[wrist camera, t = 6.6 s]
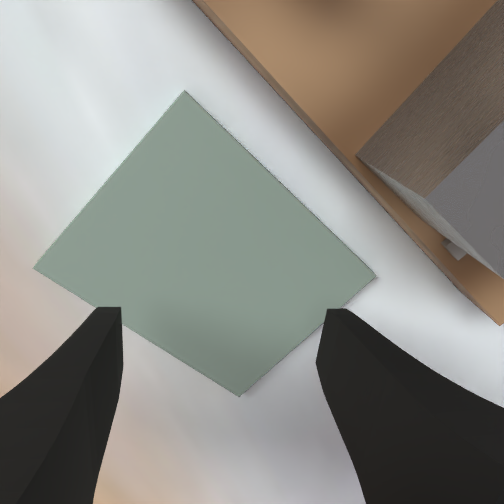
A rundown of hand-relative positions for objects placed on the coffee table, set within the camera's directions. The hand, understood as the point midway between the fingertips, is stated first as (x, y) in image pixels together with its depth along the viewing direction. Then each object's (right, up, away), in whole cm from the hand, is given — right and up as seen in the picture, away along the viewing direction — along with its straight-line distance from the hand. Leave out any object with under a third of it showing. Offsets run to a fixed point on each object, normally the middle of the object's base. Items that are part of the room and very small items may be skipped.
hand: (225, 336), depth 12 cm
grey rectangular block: (+7, +6, 0) cm, 9 cm away
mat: (-1, +2, +4) cm, 4 cm away
